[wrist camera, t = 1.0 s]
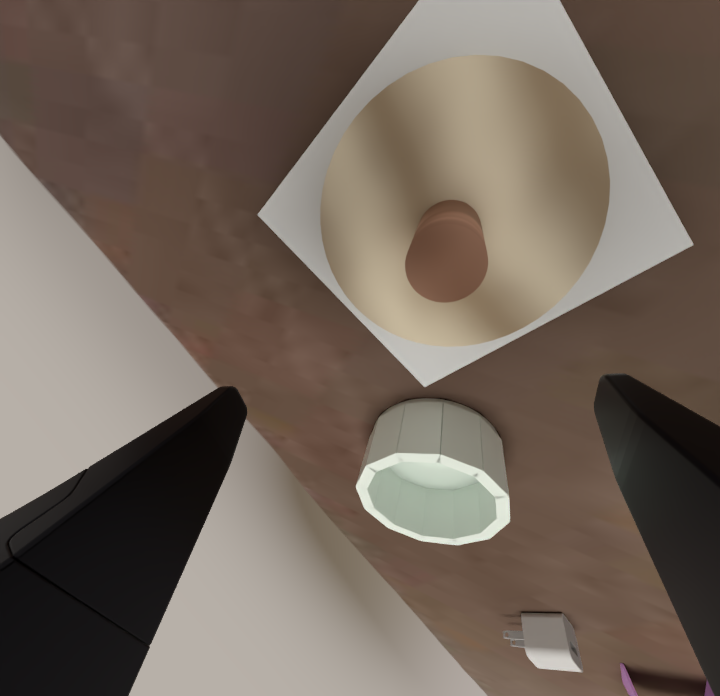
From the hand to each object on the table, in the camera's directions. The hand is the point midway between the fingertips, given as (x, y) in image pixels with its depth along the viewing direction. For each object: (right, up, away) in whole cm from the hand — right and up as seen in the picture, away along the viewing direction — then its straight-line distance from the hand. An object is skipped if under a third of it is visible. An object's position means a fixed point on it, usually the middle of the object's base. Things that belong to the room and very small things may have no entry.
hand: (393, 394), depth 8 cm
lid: (+4, +7, +8) cm, 12 cm away
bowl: (+5, -7, +18) cm, 20 cm away
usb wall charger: (+19, -30, +30) cm, 47 cm away
